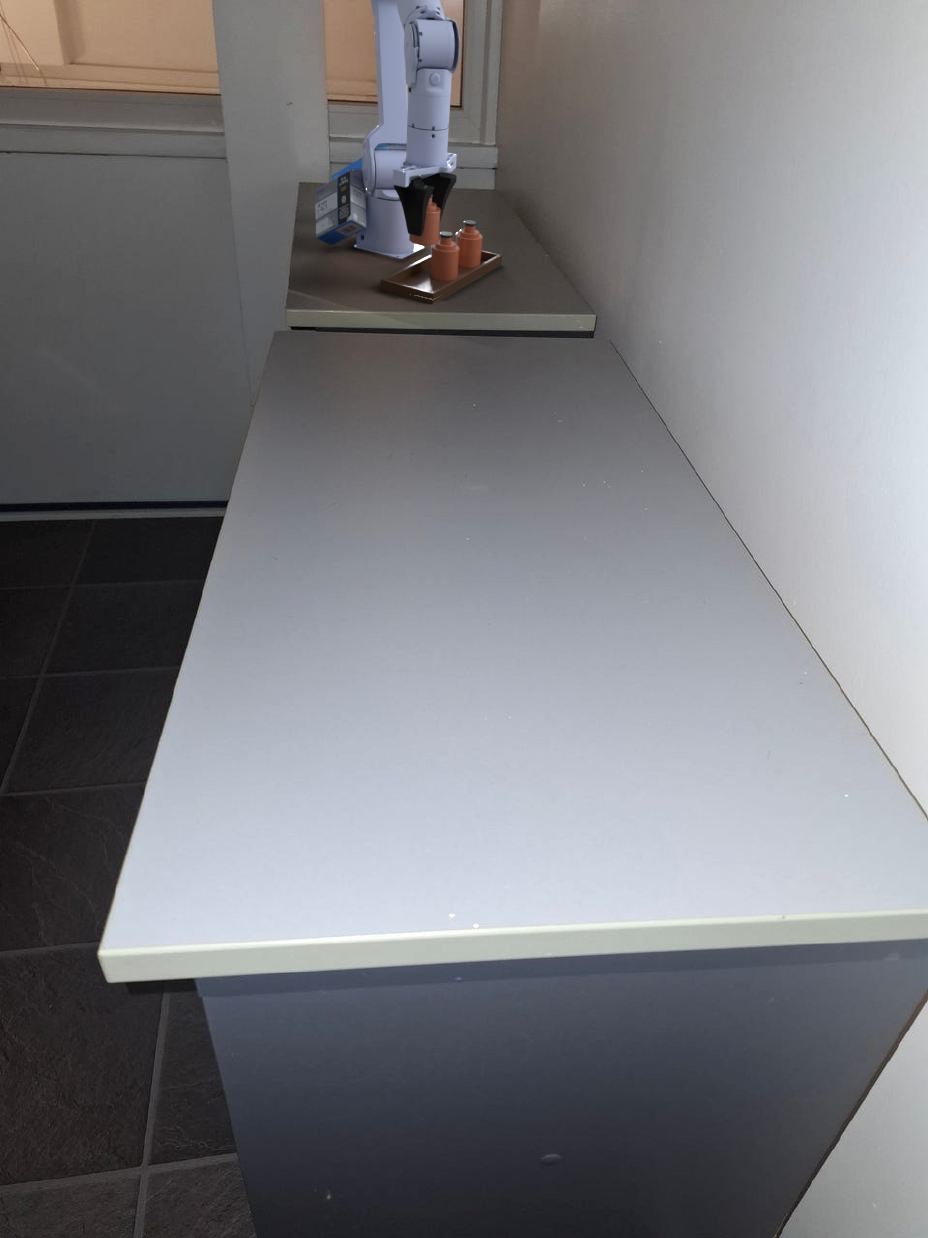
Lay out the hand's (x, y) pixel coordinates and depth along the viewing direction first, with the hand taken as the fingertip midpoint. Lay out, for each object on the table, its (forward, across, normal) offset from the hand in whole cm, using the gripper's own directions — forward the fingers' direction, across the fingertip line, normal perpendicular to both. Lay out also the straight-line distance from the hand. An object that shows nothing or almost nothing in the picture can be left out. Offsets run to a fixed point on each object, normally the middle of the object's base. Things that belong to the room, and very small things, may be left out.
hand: (423, 230), depth 126 cm
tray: (+9, +7, 0) cm, 12 cm away
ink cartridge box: (+6, +7, +19) cm, 21 cm away
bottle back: (+8, +15, 0) cm, 18 cm away
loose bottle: (+1, 0, 0) cm, 1 cm away
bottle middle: (+8, +7, 0) cm, 11 cm away
